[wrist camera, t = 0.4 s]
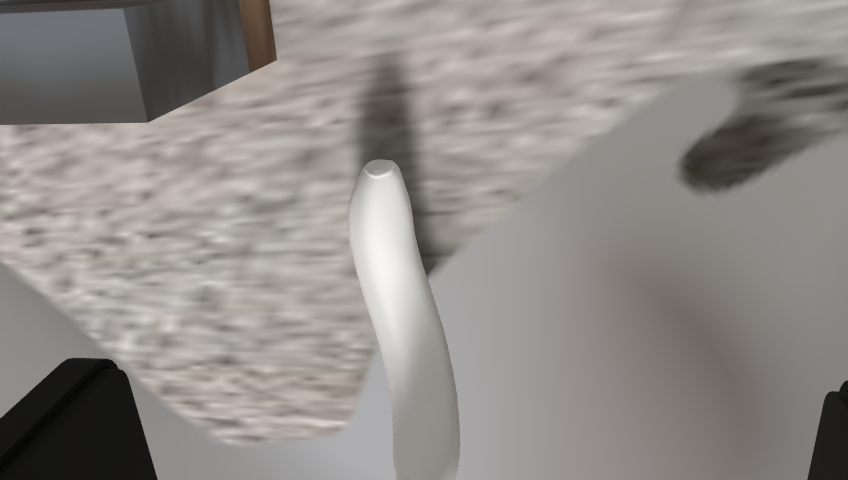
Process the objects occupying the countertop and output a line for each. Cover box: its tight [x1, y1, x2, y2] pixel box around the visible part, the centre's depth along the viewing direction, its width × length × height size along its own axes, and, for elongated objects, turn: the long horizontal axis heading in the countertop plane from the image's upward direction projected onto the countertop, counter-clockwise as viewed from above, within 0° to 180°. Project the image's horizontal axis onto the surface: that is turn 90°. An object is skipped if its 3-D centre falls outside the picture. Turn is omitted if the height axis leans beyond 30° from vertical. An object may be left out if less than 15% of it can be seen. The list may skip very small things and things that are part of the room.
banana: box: [348, 159, 460, 480], centre depth 36 cm, size 5×19×15 cm, turn 16°
